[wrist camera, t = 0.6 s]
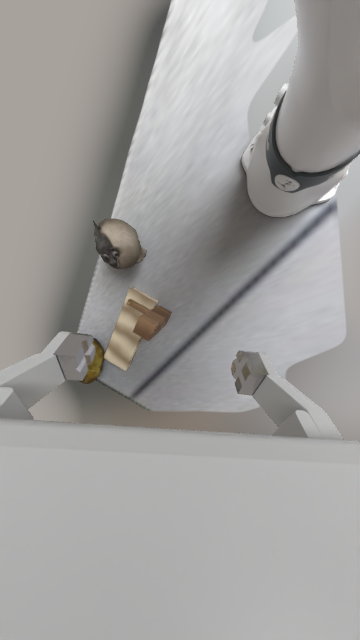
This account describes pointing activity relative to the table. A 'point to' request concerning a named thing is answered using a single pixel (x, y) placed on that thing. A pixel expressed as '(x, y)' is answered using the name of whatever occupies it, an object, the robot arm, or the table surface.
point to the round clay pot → (118, 243)
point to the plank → (127, 330)
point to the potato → (94, 364)
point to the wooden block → (149, 320)
